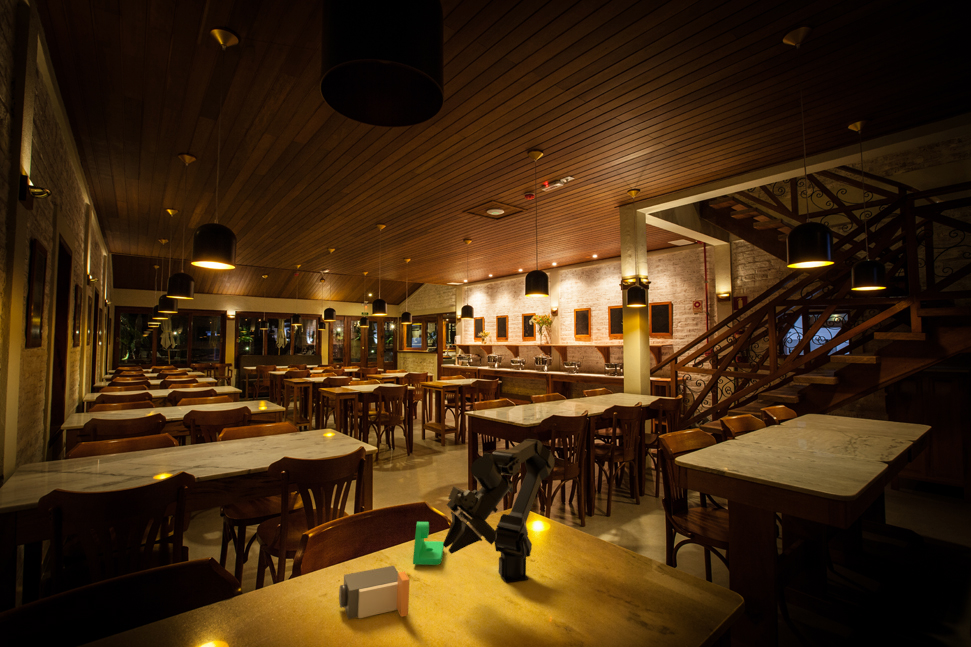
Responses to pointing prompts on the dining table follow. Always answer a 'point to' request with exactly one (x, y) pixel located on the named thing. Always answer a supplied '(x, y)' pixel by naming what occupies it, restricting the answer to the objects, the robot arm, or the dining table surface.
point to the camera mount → (426, 547)
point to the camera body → (363, 586)
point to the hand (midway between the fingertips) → (446, 549)
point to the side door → (385, 598)
